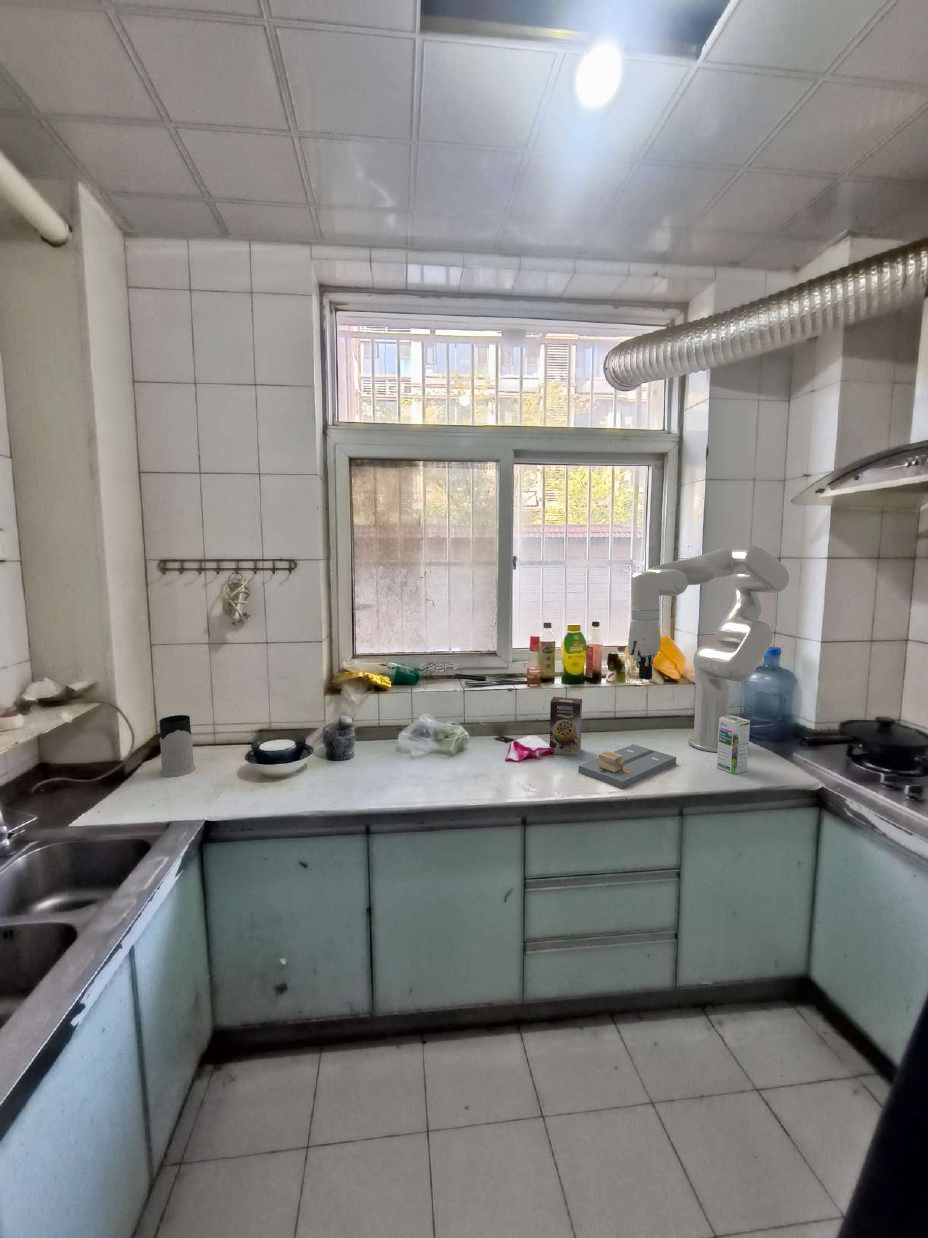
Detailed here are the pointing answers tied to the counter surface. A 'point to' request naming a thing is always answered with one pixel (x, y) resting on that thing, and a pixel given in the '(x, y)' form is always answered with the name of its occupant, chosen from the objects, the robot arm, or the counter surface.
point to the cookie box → (565, 725)
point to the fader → (611, 761)
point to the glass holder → (176, 746)
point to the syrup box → (733, 744)
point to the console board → (629, 766)
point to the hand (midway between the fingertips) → (645, 678)
